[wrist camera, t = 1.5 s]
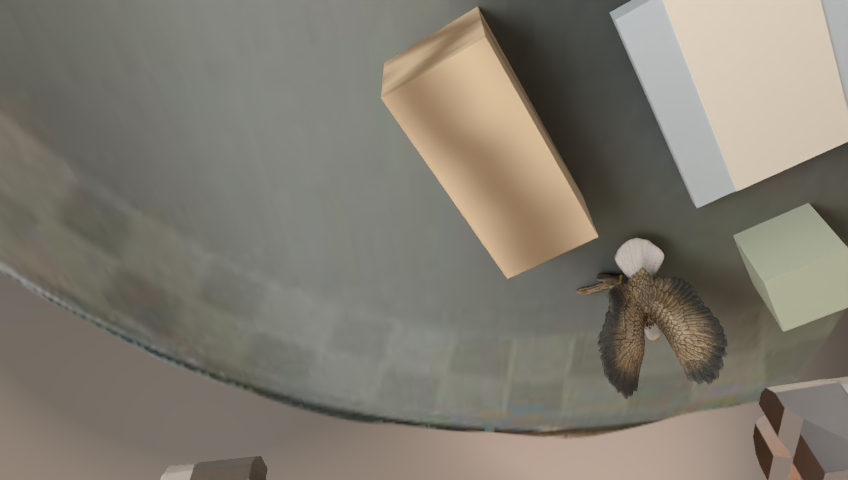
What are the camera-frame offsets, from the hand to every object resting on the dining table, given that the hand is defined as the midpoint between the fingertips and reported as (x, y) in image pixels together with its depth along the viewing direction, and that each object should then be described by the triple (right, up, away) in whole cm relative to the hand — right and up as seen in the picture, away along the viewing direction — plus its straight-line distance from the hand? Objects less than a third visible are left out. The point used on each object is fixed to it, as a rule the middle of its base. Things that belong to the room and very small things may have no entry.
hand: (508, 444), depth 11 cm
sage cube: (+23, +3, +35) cm, 42 cm away
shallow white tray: (+17, +13, +27) cm, 35 cm away
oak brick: (+3, +10, +30) cm, 31 cm away
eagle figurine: (+13, +1, +36) cm, 38 cm away
